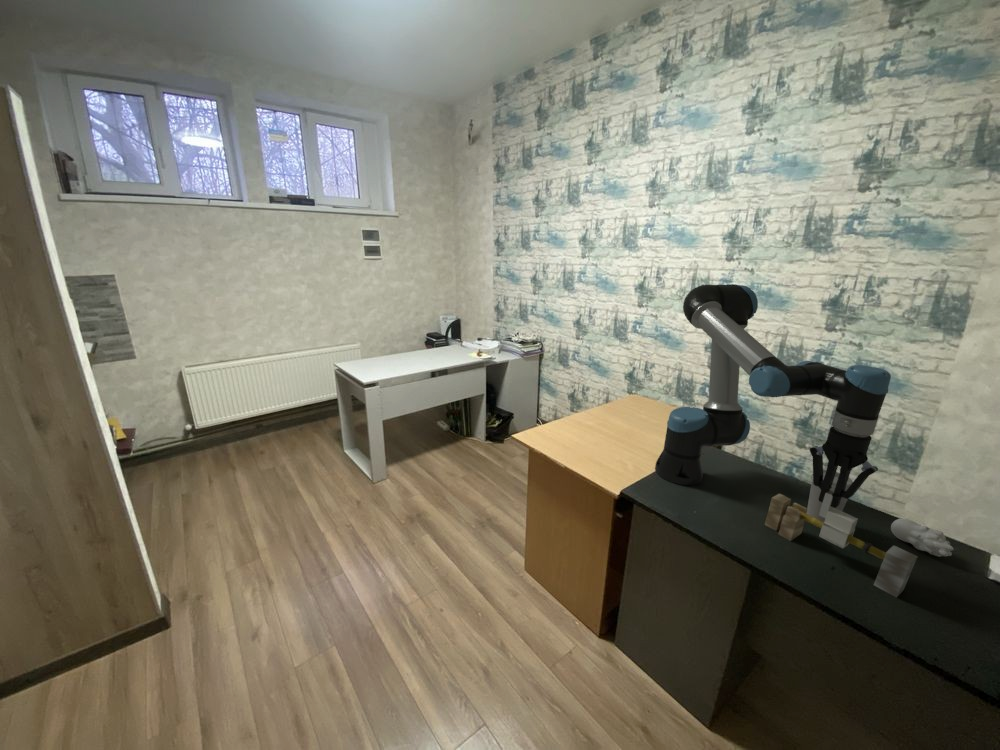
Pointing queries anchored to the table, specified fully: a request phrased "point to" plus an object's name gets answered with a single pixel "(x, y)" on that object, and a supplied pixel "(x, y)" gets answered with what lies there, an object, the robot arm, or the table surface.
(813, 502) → the coffee cup
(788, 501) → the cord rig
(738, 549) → the table surface
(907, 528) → the figurine
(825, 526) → the grey stepped block
